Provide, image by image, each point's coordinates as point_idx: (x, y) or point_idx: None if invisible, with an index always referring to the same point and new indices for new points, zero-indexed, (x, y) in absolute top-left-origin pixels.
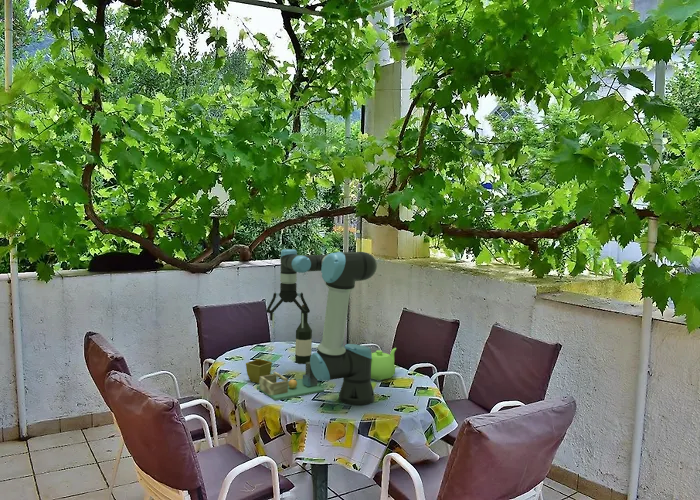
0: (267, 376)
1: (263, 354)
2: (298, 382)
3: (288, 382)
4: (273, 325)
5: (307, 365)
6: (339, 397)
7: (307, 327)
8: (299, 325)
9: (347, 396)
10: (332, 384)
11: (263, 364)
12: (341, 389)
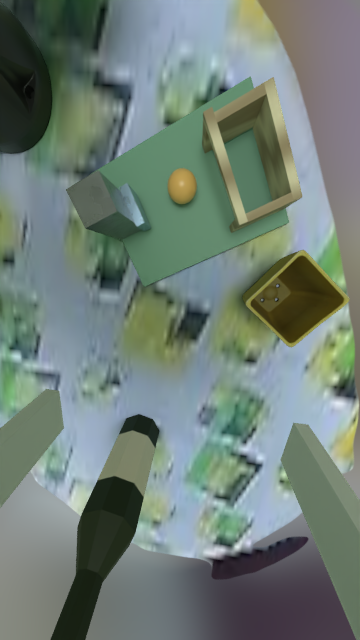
0: (270, 202)
1: (226, 490)
2: (162, 251)
3: (195, 184)
4: (310, 444)
5: (114, 198)
6: (42, 68)
7: (84, 538)
8: (114, 559)
9: (1, 3)
10: (73, 246)
11: (268, 322)
12: (13, 41)
